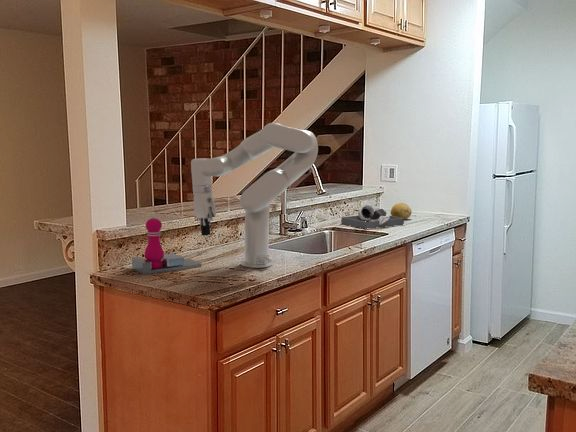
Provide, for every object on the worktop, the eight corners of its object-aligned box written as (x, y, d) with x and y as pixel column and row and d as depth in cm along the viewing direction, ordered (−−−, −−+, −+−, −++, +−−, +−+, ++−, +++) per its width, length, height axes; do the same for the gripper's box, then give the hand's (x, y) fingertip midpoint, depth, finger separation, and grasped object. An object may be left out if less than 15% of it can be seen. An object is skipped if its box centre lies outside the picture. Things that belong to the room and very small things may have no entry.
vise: (201, 266, 232) (201, 255, 231) (143, 274, 218) (142, 263, 217) (189, 261, 241) (189, 250, 240) (132, 268, 227) (131, 257, 226)
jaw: (184, 264, 228) (184, 257, 228) (167, 266, 224) (167, 259, 224) (174, 260, 235) (174, 253, 235) (157, 262, 231) (157, 255, 231)
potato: (395, 217, 369) (395, 201, 367) (413, 219, 361) (414, 203, 359) (387, 219, 361) (387, 202, 359) (405, 221, 353) (406, 204, 351)
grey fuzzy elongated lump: (353, 220, 347) (354, 203, 345) (367, 219, 351) (368, 203, 349) (377, 228, 325) (378, 210, 323) (392, 227, 329) (393, 209, 327)
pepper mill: (156, 263, 231) (155, 212, 228) (168, 266, 226) (167, 214, 223) (140, 266, 226) (139, 214, 223) (152, 269, 221) (151, 216, 218)
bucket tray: (403, 225, 339) (404, 218, 338) (366, 229, 322) (366, 222, 322) (377, 220, 356) (378, 213, 355) (341, 224, 339) (341, 217, 339)
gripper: (220, 189, 231) (223, 235, 234) (201, 187, 243) (205, 231, 246) (203, 191, 227) (206, 238, 230) (185, 189, 239) (188, 234, 241)
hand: (205, 234), depth 238 cm, fingers closed
